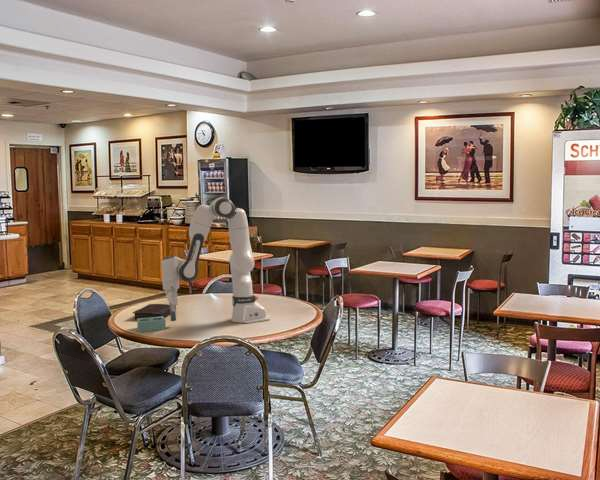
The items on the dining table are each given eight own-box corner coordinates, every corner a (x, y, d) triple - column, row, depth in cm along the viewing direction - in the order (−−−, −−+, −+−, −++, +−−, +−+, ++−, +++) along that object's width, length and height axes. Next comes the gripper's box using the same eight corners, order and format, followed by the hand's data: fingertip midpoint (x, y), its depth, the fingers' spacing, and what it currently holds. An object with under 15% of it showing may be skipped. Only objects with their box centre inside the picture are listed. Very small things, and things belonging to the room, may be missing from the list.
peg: (175, 319, 317) (174, 298, 316) (176, 320, 314) (175, 299, 313) (170, 320, 316) (168, 298, 315) (171, 321, 313) (169, 299, 312)
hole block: (163, 325, 319) (163, 316, 319) (165, 329, 310) (165, 320, 309) (137, 327, 315) (137, 318, 314) (138, 331, 305) (138, 322, 305)
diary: (176, 312, 355) (176, 304, 355) (161, 321, 331) (161, 313, 330) (147, 311, 358) (147, 303, 357) (131, 321, 333) (130, 312, 332)
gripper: (179, 288, 304) (181, 313, 306) (174, 282, 323) (176, 306, 325) (167, 289, 302) (169, 315, 304) (162, 283, 321) (164, 307, 323)
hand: (172, 310), depth 314 cm, fingers closed on peg, 3 cm apart
